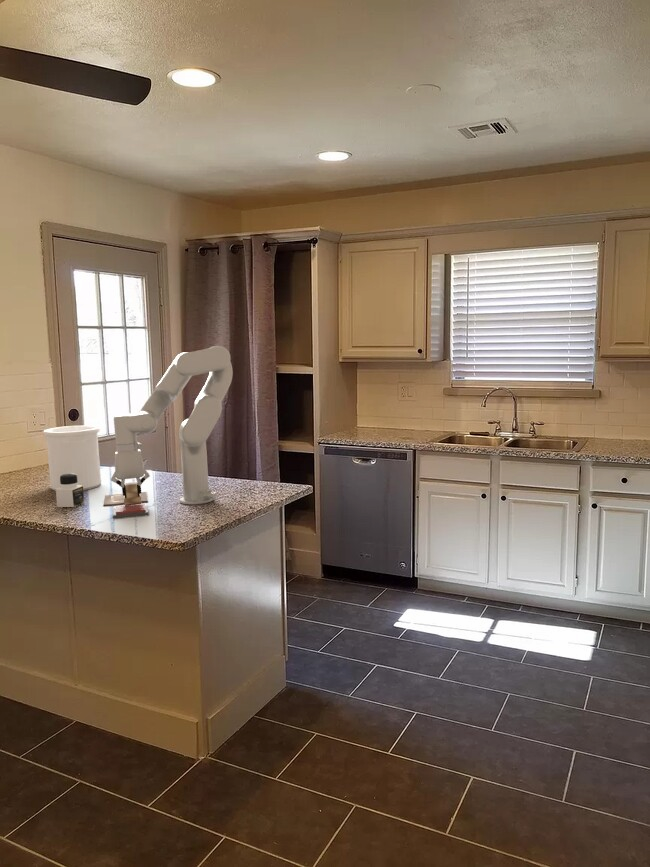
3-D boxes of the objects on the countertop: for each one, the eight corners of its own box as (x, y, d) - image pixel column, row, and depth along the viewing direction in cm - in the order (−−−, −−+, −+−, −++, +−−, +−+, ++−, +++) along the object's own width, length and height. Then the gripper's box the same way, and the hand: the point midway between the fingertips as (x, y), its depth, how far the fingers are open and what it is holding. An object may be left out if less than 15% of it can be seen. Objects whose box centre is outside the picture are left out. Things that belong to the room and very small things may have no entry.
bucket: (107, 489, 282) (103, 429, 279) (50, 496, 273) (44, 434, 269) (99, 478, 305) (95, 423, 302) (46, 484, 296) (41, 427, 292)
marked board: (146, 493, 273) (146, 491, 273) (147, 502, 258) (147, 500, 258) (105, 496, 269) (104, 495, 269) (103, 506, 254) (103, 504, 254)
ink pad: (148, 508, 248) (147, 503, 248) (148, 515, 239) (148, 509, 239) (113, 511, 245) (113, 506, 245) (113, 518, 236) (112, 513, 235)
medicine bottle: (74, 508, 253) (71, 476, 251) (56, 507, 254) (54, 476, 252) (84, 503, 260) (82, 472, 258) (67, 502, 261) (65, 472, 259)
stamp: (141, 500, 255) (139, 481, 254) (141, 504, 250) (139, 484, 248) (124, 502, 254) (122, 482, 253) (124, 506, 248) (122, 486, 247)
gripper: (150, 444, 254) (155, 491, 257) (103, 448, 250) (109, 497, 253) (151, 447, 247) (155, 496, 250) (103, 451, 243) (108, 501, 245)
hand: (132, 495), depth 251 cm, fingers closed on stamp, 4 cm apart
